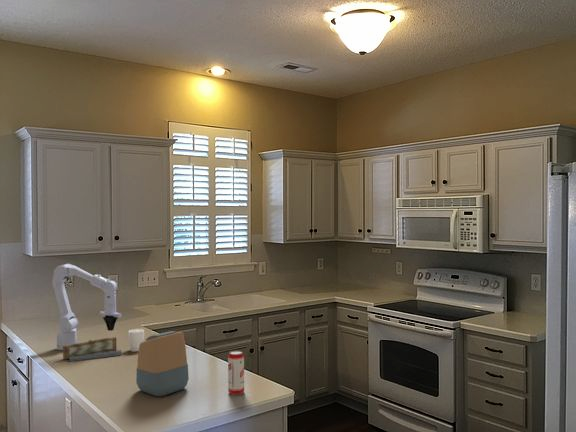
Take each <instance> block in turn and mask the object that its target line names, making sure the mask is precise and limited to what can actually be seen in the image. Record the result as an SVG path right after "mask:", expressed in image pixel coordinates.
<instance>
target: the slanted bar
mask: <svg viewBox="0 0 576 432" xmlns="http://www.w3.org/2000/svg"><path fill="white" fill-rule="evenodd" d="M122 354H123V353H122V349H115V350H110V351H105V352H97V353H89V354H80V355H71V356H69V360H68V361H69V362H76V361H77V362H78V361H84V360H92V359H94V360H95V359H101V358H109V357H118V356H122Z"/></svg>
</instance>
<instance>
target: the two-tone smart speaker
mask: <svg viewBox="0 0 576 432" xmlns="http://www.w3.org/2000/svg"><path fill="white" fill-rule="evenodd" d="M184 336H185V335H184V333H183V331H178V332H177V331H176V330H175V331H174V330H171V331H166V332H161V333H158V334H153V335H150V336H148V337H147V338H146V339H145V340H144V342H142V343H140V345H139V351H137V352H138V353H137V366H136V376H135V377H136V379H135V380H136V382H135V383H136V385H137V387H138V389H139V390H141V392H144V393H146V394H149V395H152V396H155V397H158V398H159V397H160V398H161V397H165V396H167V395H169V394H172V393H175V392H178V391H181V390H184V389H185V388H186V386H187V385H188V383H189V363H188V360H187V359H188V357H187V349H186V347H187V346H186V342H185V337H184Z"/></svg>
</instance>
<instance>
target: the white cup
mask: <svg viewBox="0 0 576 432" xmlns="http://www.w3.org/2000/svg"><path fill="white" fill-rule="evenodd" d="M127 334H128V346H129V351H130V352H138V351H139V345H140V343H142V342H144V341H145V329H143V328H134V329H130V330H128V333H127Z"/></svg>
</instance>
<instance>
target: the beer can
mask: <svg viewBox="0 0 576 432" xmlns="http://www.w3.org/2000/svg"><path fill="white" fill-rule="evenodd" d="M227 367H228V368H227V372H228V373H227V377H228V380H227V381H228V382H227V383H228V385H227V388H228V393H229V394H230V395H232V396H240V395H242V394H243V393H244V392H245V356H244V354H243V351H241V350H231V351H229V354H228V356H227ZM239 394H240V395H239Z"/></svg>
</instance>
